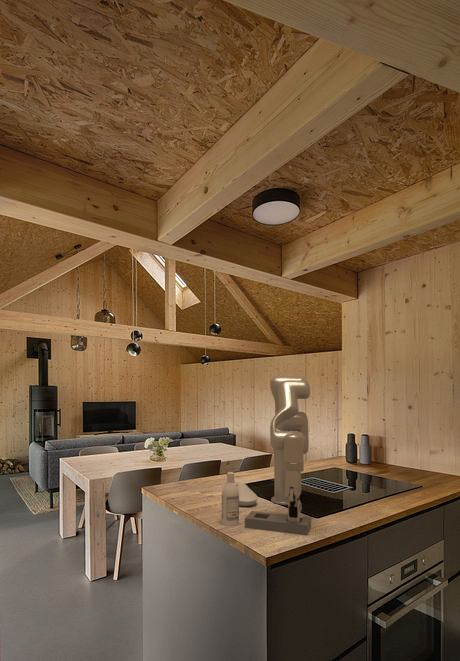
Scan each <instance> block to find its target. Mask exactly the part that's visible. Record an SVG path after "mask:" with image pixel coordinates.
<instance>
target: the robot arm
mask: <svg viewBox="0 0 460 661" xmlns="http://www.w3.org/2000/svg"><path fill="white" fill-rule="evenodd" d="M269 387H270V392H271V394H272V395H271V396H272V397H273V400H274V407H275V408H274V416H273V417H272V419H271V421H270V425H269V437H270V446H271V447H272V451H273V462H274V463H273V464H274V468H273V469H274V470H273V471H274V476H273V477H274V480H273V481H274V496H272V497H271V502H272V503H274V504H276V505H283V506H288V501H289V517H293V518H297V517H298V511H297V500H300V496H301V494H302V472H304V466H305V465H304V455H305V454H308V452H309V449H310V446H309V445H310V444H309V442H310V441H309V439H310V438H309V437H310V436H309V434H310V433H309V419H308V418H309V417H308V415H307V413H306V412H304V411H300V410H299V403H298V400H307V399H309V397H310V395H311V386H310V384H309V381H308V380H307V378H306V377H305V376H297V375H296V376H295V375H294V376H289V375H288V376H286V375H284V376H281V375H280V376H279V375H278V376H274V377H272V378H271V379H270V381H269ZM293 500H295V501H293Z"/></svg>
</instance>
